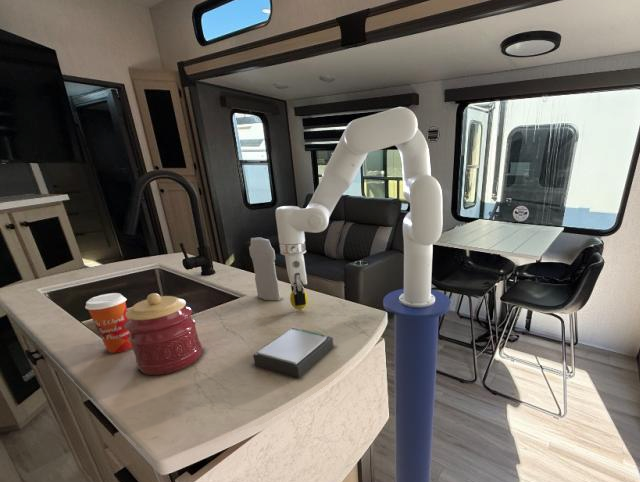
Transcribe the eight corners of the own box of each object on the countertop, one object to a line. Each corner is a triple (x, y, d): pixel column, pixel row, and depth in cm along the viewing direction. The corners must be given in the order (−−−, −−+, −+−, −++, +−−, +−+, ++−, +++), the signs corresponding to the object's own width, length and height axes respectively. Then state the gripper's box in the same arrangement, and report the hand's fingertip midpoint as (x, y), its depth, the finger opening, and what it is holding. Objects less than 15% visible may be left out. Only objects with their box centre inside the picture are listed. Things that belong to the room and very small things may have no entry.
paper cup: (97, 357, 79) (76, 306, 74) (109, 342, 85) (92, 294, 80) (135, 351, 82) (118, 301, 77) (145, 337, 88) (129, 290, 83)
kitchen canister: (132, 382, 70) (105, 310, 64) (146, 352, 81) (125, 288, 75) (200, 367, 75) (182, 299, 69) (205, 341, 86) (189, 280, 80)
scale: (293, 337, 88) (292, 326, 87) (333, 347, 84) (332, 335, 82) (254, 365, 76) (252, 352, 75) (299, 378, 72) (297, 364, 70)
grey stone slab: (253, 297, 114) (242, 237, 106) (261, 293, 117) (252, 235, 110) (277, 302, 110) (267, 240, 103) (284, 297, 114) (276, 237, 106)
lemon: (288, 312, 103) (285, 289, 100) (298, 305, 108) (295, 283, 105) (302, 314, 101) (300, 291, 98) (312, 307, 106) (310, 285, 103)
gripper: (309, 253, 91) (314, 307, 97) (302, 240, 106) (306, 288, 112) (281, 256, 88) (289, 311, 94) (278, 242, 103) (284, 291, 109)
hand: (298, 299), depth 103 cm, fingers open, 9 cm apart
